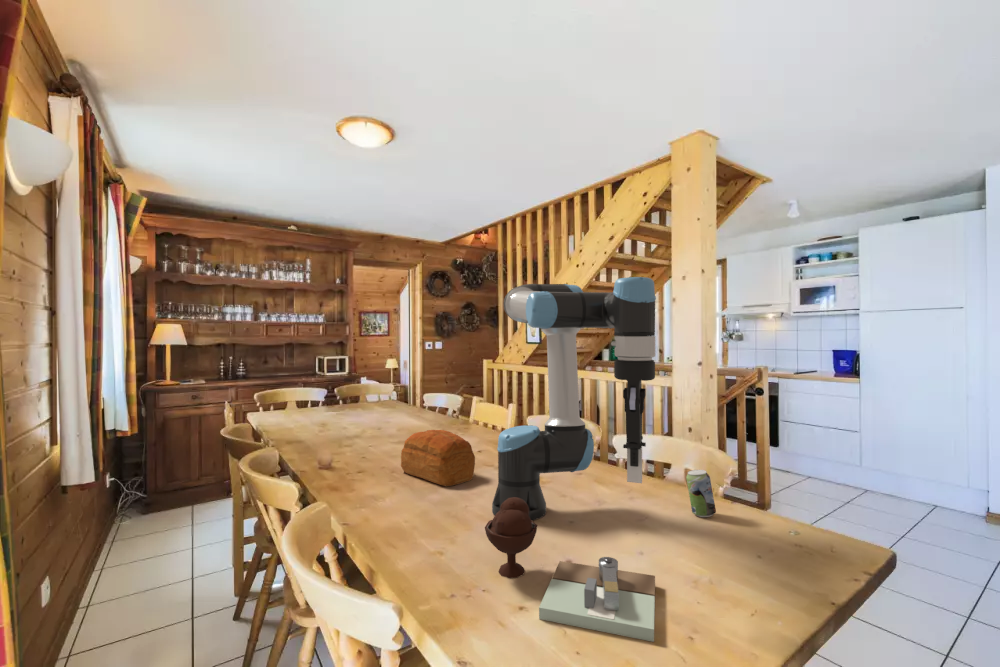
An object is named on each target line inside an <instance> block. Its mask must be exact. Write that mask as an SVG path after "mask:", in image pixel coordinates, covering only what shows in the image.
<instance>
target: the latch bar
mask: <svg viewBox="0 0 1000 667" xmlns="http://www.w3.org/2000/svg"><path fill="white" fill-rule="evenodd" d="M598 567H599V579H600V580H601V581H602V583H603V596H604V609H609V610H619V591H618V584H617V581H618V570H619V561H618V560H617V559H616V558H614V557H612V556H611V557H610V556H602V557H600V558H599V559H598Z"/></svg>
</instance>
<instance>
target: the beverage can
mask: <svg viewBox="0 0 1000 667" xmlns="http://www.w3.org/2000/svg"><path fill="white" fill-rule="evenodd" d="M707 472H708V471H706V470H704V469H693V470H689V471H687V474H686V477H685V479H686V484H687V490H688V495H689V496H688V497H689V501H690V507H691V512H692V514H694V515H695V516H697V517H700V518H710V517H713V516H714V515H715V514H716V512H717V510H716V509H717V508H716V504H715V498H714V493H713V488H712V481H711V477H710V475H709V474H708V473H707Z"/></svg>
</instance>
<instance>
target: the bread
mask: <svg viewBox="0 0 1000 667" xmlns="http://www.w3.org/2000/svg"><path fill="white" fill-rule="evenodd" d="M400 453H401V455H400V467H401V468H402V471H403V472H404V473H405V474H407V475H411V476H413V477H416V478H420V479H423V480H426V481H428V482H431V483H434V484H437V485H440V486H443V487H450V486H455V485H459V484H463V483H465V482H469V481H472V480H473V478H474V472H475V465H476V456H475V454H474V451H473V448H472V445H471V443H470V442H469V441H467V440H466V439H464V438H462V437H461V436H460V435H458V434H456V433H453V432H451V431H448V430H444V429H428V430H424V431H418V432H415V433H412V434H411V435H410V436H409V437H407V438H406V439H405V440H404V444H403V448H402V450H401V452H400Z"/></svg>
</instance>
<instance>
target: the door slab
mask: <svg viewBox="0 0 1000 667" xmlns="http://www.w3.org/2000/svg"><path fill="white" fill-rule="evenodd" d="M618 591H619V610H609V609H604V596H603V587H597V579H593V578H587V582H586V584H580V583H574V582H568V581H562V580H556V579H552V578H551V579H550V582H549V583H548V586H547V589H546V591H545V593H544V596H543V597H542V600H541V602H540V604H539V607H538V619H539V620H542V621H547V622H551V623H552V622H553V623H557V624H562V625H567V626H572V627H577V628H583V629H588V630H593V631H598V632H603V633H608V634H613V635H619V636H621V637H622V636H623V637H628V638H633V639H636V640H637V639H638V640H643V641H647V642H653V643H654V642H655V611H656V608H655V607H656V606H655V605H656V595H655V596H651V595H645V594H639V593H633V592H627V591H621V590H618Z"/></svg>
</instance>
